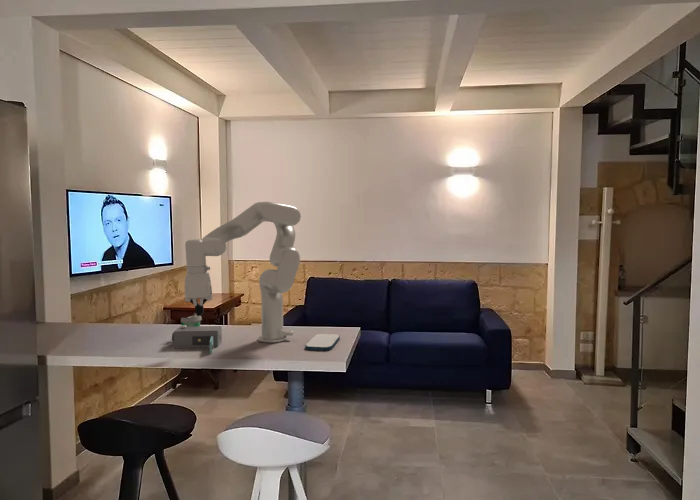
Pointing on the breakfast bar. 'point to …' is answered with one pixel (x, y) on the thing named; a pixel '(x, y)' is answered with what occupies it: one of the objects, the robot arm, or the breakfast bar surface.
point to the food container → (191, 320)
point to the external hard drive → (322, 342)
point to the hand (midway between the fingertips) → (199, 314)
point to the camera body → (196, 336)
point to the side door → (211, 344)
